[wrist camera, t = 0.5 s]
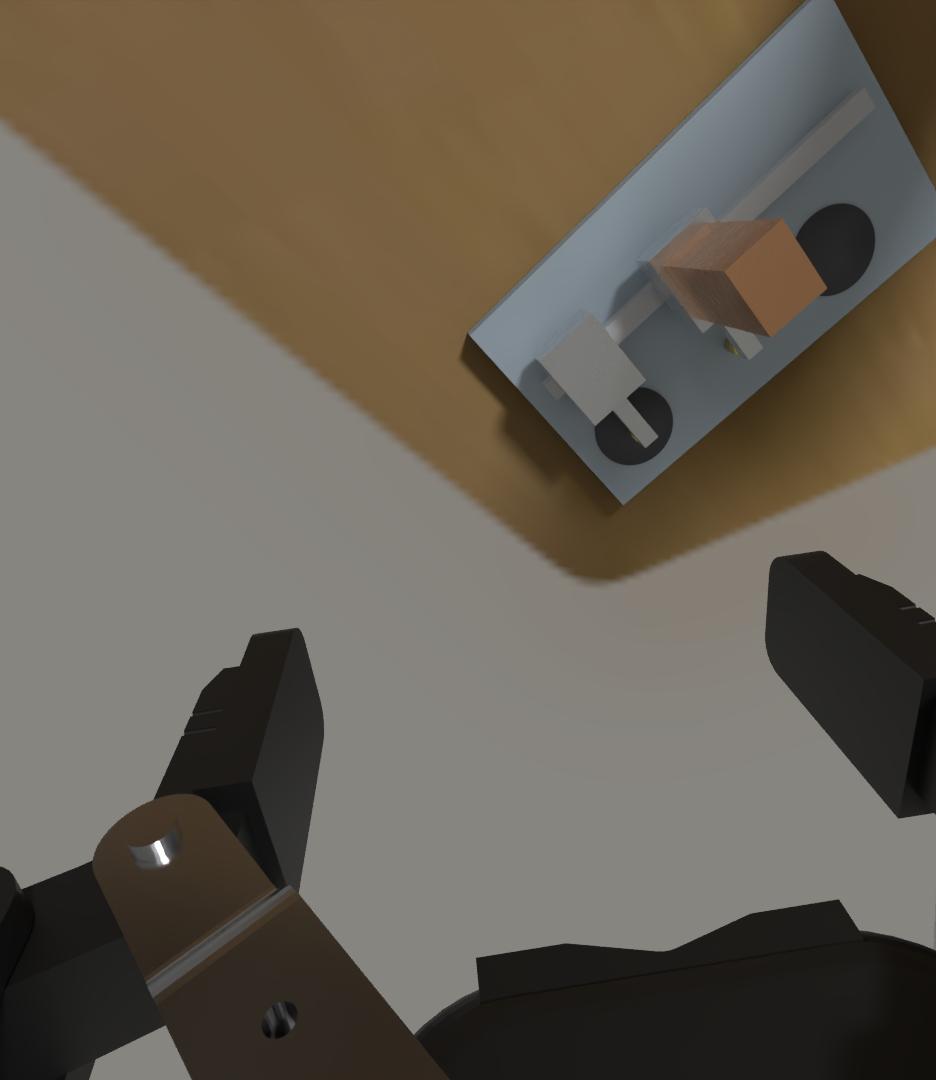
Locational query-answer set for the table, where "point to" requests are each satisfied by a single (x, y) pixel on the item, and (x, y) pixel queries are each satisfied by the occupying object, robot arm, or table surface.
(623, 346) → the bolt plate
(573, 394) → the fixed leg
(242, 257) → the table surface
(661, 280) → the sliding leg
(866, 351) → the table surface
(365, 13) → the table surface
